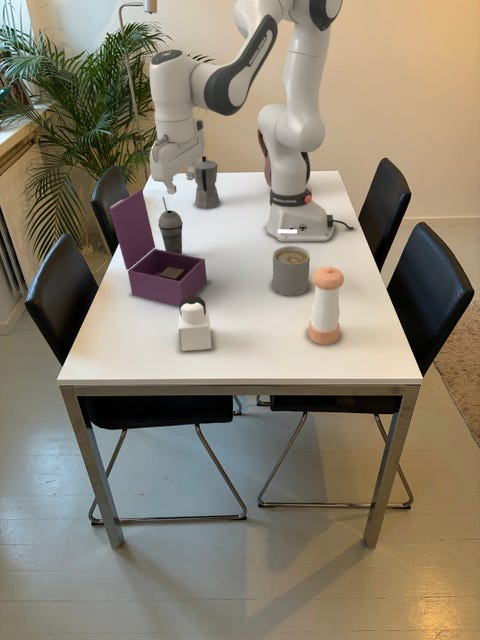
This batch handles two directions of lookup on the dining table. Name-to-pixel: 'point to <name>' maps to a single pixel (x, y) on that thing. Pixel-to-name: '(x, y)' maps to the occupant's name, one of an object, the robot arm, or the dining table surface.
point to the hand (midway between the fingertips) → (181, 186)
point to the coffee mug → (291, 270)
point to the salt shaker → (326, 306)
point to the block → (173, 273)
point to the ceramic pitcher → (268, 165)
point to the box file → (162, 289)
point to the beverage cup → (171, 230)
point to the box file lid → (132, 228)
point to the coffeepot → (206, 184)
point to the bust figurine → (194, 324)
